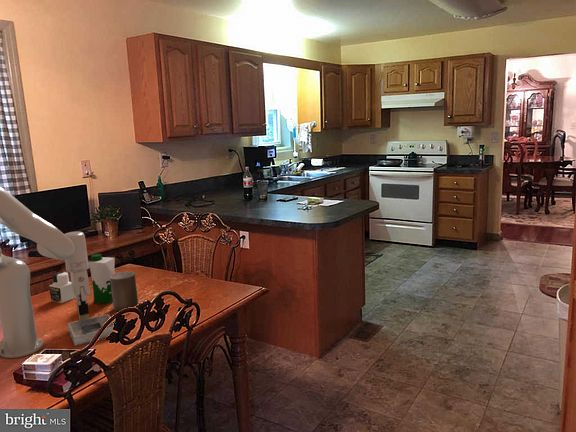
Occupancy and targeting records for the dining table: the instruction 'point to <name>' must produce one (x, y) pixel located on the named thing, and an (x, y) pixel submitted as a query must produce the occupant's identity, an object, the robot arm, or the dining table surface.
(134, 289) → the pillar candle
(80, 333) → the tin
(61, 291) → the medicine bottle
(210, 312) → the dining table surface
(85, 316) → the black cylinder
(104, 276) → the milk carton
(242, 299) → the dining table surface
